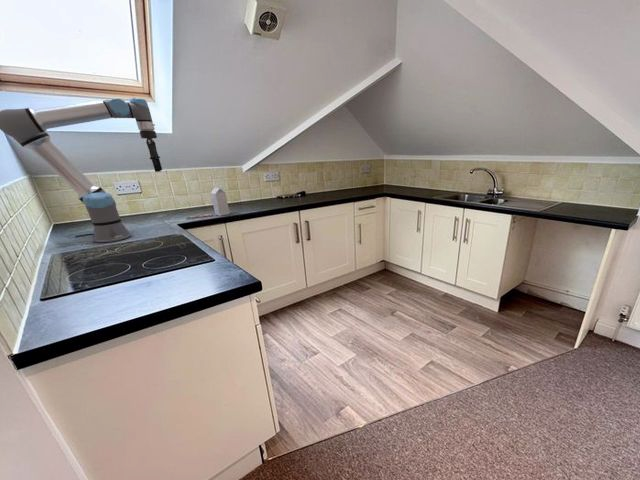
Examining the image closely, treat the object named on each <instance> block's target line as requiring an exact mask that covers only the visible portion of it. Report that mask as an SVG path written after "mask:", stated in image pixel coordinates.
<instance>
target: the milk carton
mask: <svg viewBox="0 0 640 480" xmlns="http://www.w3.org/2000/svg"><path fill="white" fill-rule="evenodd" d="M210 197H211V201H212V206H213V210H214V215H215V216H218V217H222V216H227V215H230V214H231V212H230V208H229V203H228V197H227V193H226V191H224V190H223V188H221V187H220V186H215V185H214V186H213V189H212V191H211V192H210Z"/></svg>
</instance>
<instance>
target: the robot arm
mask: <svg viewBox="0 0 640 480" xmlns="http://www.w3.org/2000/svg"><path fill="white" fill-rule="evenodd" d="M108 119H135V122H136V125H137V129H138V130H139V136H140V138H141V139H146V140H145V141H146V142H145V143H146V146H147V149H148V152H149V156H150V157H149V160H151V162H152V165H153V169H154V172H155V173H158V172H162V171H163V167H162V163H161V160H160V159H161V156H159V154H158V150H157V145H156V142H155V141H154V139H158V135H157V133H156V130H155V126H156V125H155V123H154V122H153V118H152V114H151V111H150V108H149V105H148V101H147V100H146V99H145V98H141V97H130V98H129V101H125V100H124V99H122V98H119V97H114V98H111V99H105V100H97V101H90V102H82V103H76V104H67V105H62V106H55V107H46V108H40V109H39V108H38V109H33V108H31V107H25V108H9V109H8V108H7V109H2V110H0V131H1V132H3V134H6V135H7V136H9V137H11V138H13V139H14V140H15V141H16V142H17V144H18V145H20V146H21V147H22V148H24V149H27V150H30V151H32V152H33V153H34V154H35V155H36V156H37V157H38V159H40V160H41V161H42V162H43V163H44V164H45V165H46V166H47V167H49V168H50V169H51V170H52V171H53V172H54V173H55V174H56V175H57V176H58V177H59V178H60V179H61V180H62V181H63V182H65V183H66V184H67V185H68V186H69V187H70V188H71V189H72V190H73V191H74V192H75V193H76V194H77V199H78V200H79V201H80V202H81V203H82V204H83V205H84V206H85V208H86V211H87V214H88V215H89V218H90V221H91V223H92V226H93V233H85V234H78V235H74V236H75V238H80V237H86V236H93V240H94V242H95V243H97V244H107V243H114V242H119V241H124V240H126V239H129V238H130V237H132V235H131V233H130V231H129V230H128V229H127V228H126V226H125V225H124V224H123V222H122V220H121V217H120V213H119V211H118V208H117V203H116V200H115V198H114V197H113V196H112V194H110V193H109V192H106V191H105V190H104V189H103V188H102V187H101V186H100V185H95V184H94V183H93V182H92V181H91V180H90V179H89V178H88V177H87V176H86V175H85V174H84V173H83V172H82V171H81V170H80V169H79V168H78V167H77V166H76V165H75V164H74V163H73V162H72V161H71V160H70V159H69V158H68V157H67V156H66V155H65V154H64V153H63V152H62V151H61V150H60V149H59V148H58V147H57V146H56V145H55V144H54V143H53V142H52V141H51V136H50V134H49V133H48V132H47V130H49V129H53V128H54V129H55V128H60V127H61V128H62V127H67V126H73V125H79V124H85V123H91V122H97V121H102V120H108Z"/></svg>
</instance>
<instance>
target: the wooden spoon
mask: <svg viewBox="0 0 640 480" xmlns="http://www.w3.org/2000/svg"><path fill="white" fill-rule="evenodd" d="M210 217H213V213H207V214H206V213H205V214H201V215H194V216H193V215H192V216H187V217H186V219H187V220H189V219H190V220H191V219H198V218H210Z"/></svg>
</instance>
